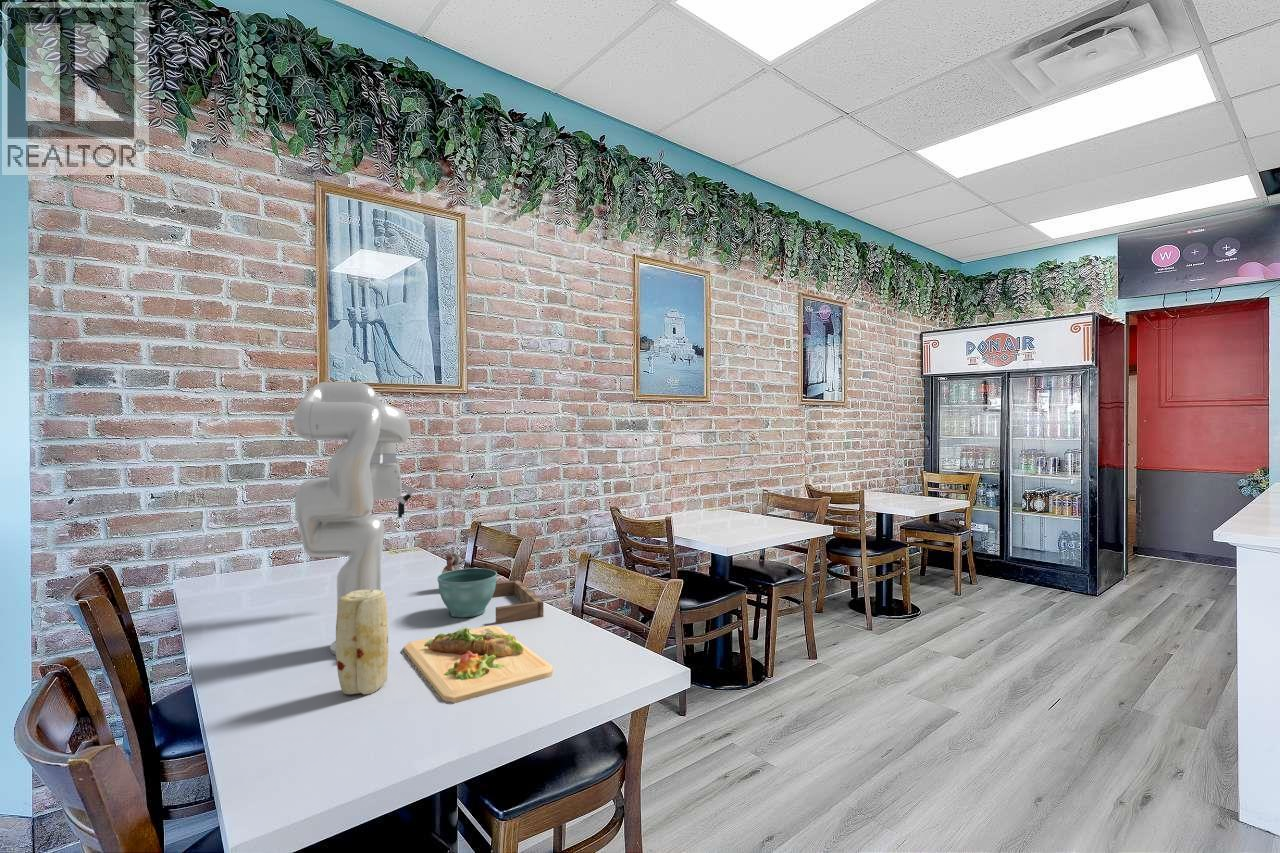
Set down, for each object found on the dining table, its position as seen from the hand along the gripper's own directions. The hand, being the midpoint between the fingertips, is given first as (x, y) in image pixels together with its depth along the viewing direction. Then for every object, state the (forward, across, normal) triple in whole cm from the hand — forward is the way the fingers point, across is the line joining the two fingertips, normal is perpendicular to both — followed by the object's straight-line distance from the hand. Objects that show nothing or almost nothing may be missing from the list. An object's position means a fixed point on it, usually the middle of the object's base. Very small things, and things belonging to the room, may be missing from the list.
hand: (382, 518), depth 173 cm
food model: (+27, -9, -57) cm, 64 cm away
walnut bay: (+26, +32, -18) cm, 45 cm away
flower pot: (+26, +20, -18) cm, 38 cm away
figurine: (+26, +21, +8) cm, 34 cm away
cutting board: (+28, +14, -53) cm, 61 cm away
